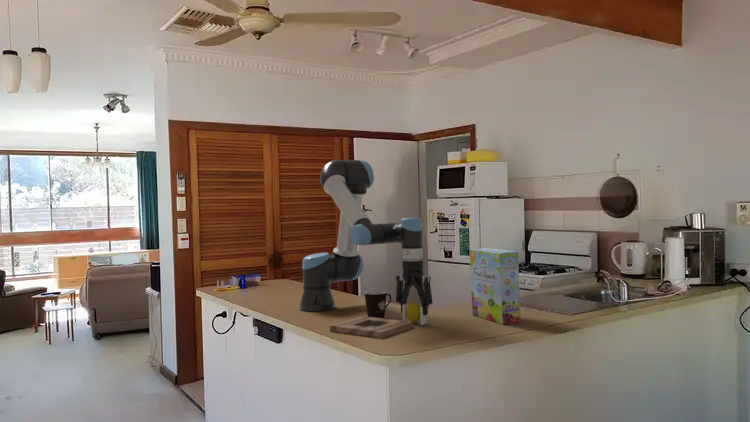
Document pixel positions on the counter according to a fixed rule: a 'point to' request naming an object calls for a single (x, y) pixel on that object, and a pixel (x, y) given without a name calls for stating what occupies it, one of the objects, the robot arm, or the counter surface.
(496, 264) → the snack box
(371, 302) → the coffee mug
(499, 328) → the counter surface
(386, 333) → the pocket board
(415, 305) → the lemon
